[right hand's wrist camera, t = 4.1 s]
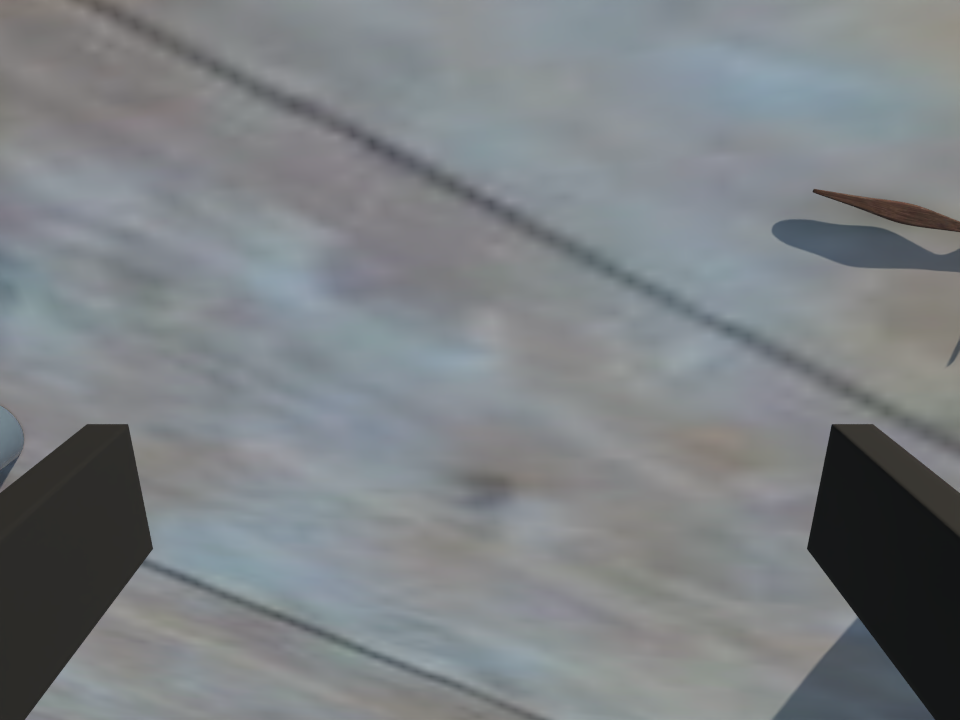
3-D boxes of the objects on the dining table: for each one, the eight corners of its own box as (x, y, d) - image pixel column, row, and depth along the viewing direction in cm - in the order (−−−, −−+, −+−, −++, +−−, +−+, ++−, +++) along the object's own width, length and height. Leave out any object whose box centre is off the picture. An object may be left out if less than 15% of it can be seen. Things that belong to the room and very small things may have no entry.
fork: (818, 165, 38) (835, 168, 36) (1076, 231, 39) (1106, 237, 37) (799, 212, 38) (816, 217, 37) (1052, 275, 40) (1081, 283, 38)
